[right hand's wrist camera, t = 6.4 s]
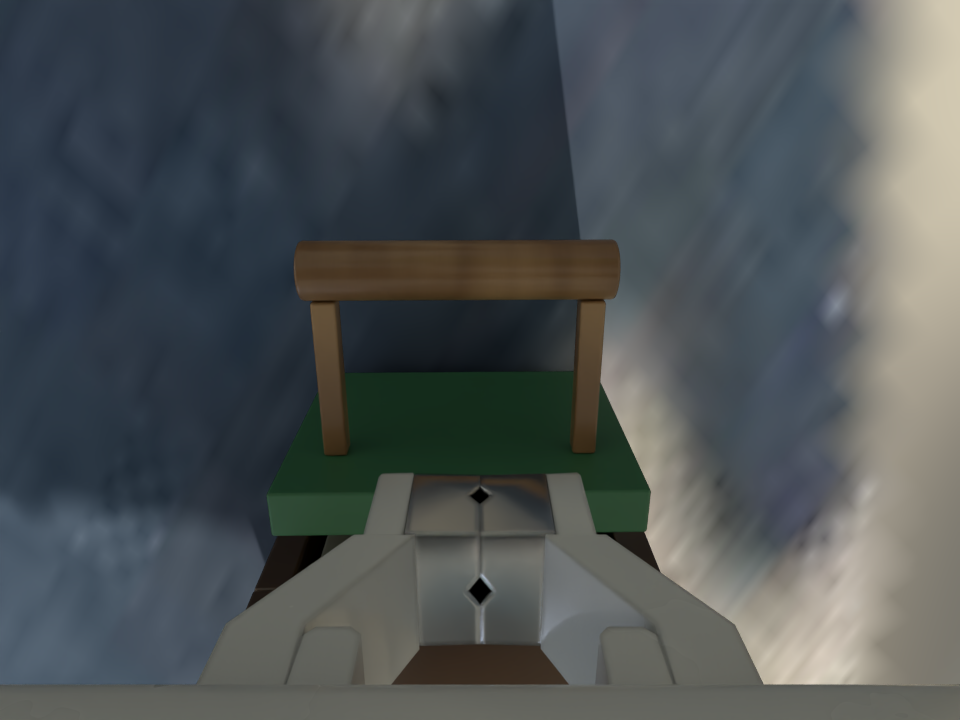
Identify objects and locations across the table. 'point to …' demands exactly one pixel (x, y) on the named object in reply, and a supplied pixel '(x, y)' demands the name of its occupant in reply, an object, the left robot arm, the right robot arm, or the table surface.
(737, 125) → the table surface
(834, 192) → the table surface
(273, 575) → the brown wooden box
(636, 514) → the drawer
